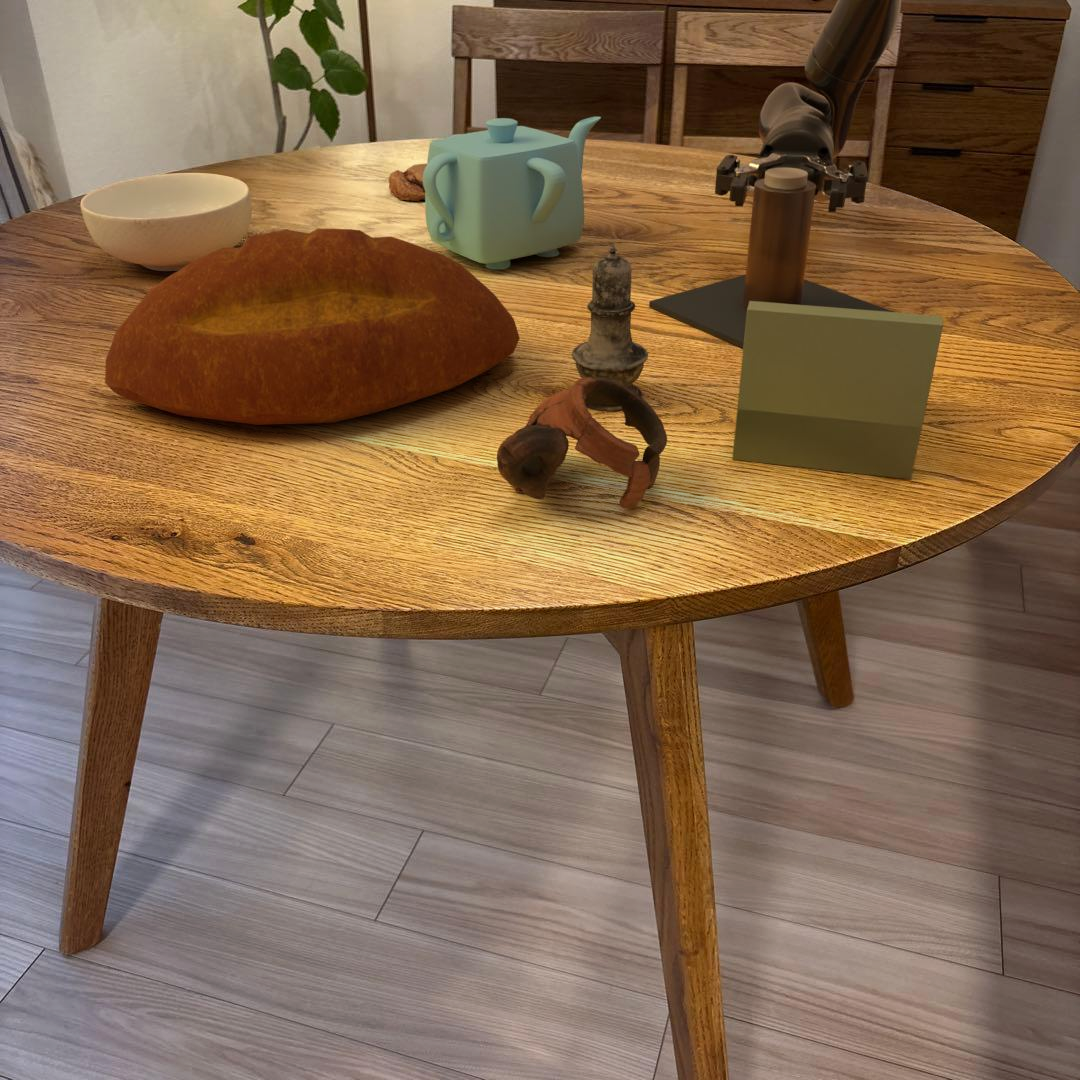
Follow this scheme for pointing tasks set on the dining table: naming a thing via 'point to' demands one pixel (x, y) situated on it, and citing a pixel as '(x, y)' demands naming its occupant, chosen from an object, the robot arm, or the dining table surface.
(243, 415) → the bread
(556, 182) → the teapot
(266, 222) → the dining table surface
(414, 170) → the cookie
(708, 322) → the slate mat
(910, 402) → the olive piece
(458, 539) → the dining table surface
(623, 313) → the salt shaker
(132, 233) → the cereal bowl
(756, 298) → the pepper mill
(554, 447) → the brown leather headphones
